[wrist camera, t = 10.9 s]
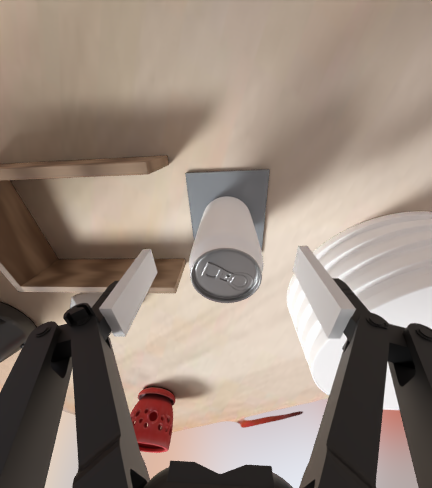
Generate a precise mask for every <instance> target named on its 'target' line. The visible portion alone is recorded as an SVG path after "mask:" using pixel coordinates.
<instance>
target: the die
mask: <svg viewBox="0 0 432 488" xmlns="http://www.w3.org/2000/svg"><path fill="white" fill-rule="evenodd" d="M102 294H103V293H100V292H81V293H79V294H77V295H75V296H73V297H72V299H71V305H70V308H71V307H73V306H75V305H77V304H80V303H88V304H89V305H90V307H91V308H92V306H93V305H94V304H95V303H96V301H97V300H98V299H99V297H100V296H101V295H102ZM111 333H112V331H111ZM111 333H110V334H111Z"/></svg>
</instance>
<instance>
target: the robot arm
mask: <svg viewBox="0 0 432 488" xmlns="http://www.w3.org/2000/svg"><path fill="white" fill-rule="evenodd" d="M293 272H294V274H295V276H296V278H297V280H298V282H299V284H300V286H301V288H302V290H303V292H304V293H305V295H306V297H307V299H308V301H309V303H310V305H311V307H312V309H313V311H314V313H315V315H316V317H317V319H318V321H319V323H320V324H321V326H322V328H323V330H324V332H325V334H326V336H327V338H328V339H341V337H342V335H343V333H344V334H345V336H346V337H347V340H346V342H345V344H344V346H343V348H342V349H343V352H342V356H341V359H340V362H339V365H338V369H337V372H336V375H335V379H334V382H333V385H332V389H331V392H330V395H329V398H328V402H327V405H326V408H325V412H324V415H323V418H322V421H321V425H320V428H319V432H318V435H317V438H316V441H315V444H314V448H313V451H312V454H311V458H310V461H309V463H308V466H307V468H306V470H305V473H304V475H303V478H302V481H301V484H300V487H299V488H376V473H377V463H378V452H379V442H380V433H381V423H382V412H383V403H384V393H385V382H386V372H387V362H388V364H389V369H390V373H391V377H392V381H393V385H394V389H395V393H396V397H397V401H398V405H399V409H400V413H401V417H402V421H403V426H404V430H405V433H406V438H407V441H408V446H409V450H410V454H411V458H412V462H413V466H414V470H415V474H416V478H417V483H418V486H419V488H432V329H431V328H429V327H427V326H424V325H422V324H418V323H410V324H409V325H408V326H407V328H404V327H400V326H396V325H392V324H389V323H388V322H387V321H386V320H385V319H383V318H382V317H380V316H379V315H377V314H374V313H371V312H370V311H369V310H368V309H367V308H366V307H365V305H364V304H363V303H362V302H361V301H360V300H359V298H358V297H357V296H356V295H355V294H354V292H353V291H352V290H351V289H350V288H349V286H348V285H347V284H346V283H345V282H343V281H342V280H340V279H339V278H332V277H331V276H330V275H329V273H328V272H327V271H326V269H325V268H324V267H323V266H322V264H321V263H320V262H319V260H318V259H317V258H316V256H315V255H314V254H313V253H312V251H311V250H310V249H309V247H308V246H298V250H297V254H296V259H295V263H294V268H293ZM156 274H157V269H156V265H155V262H154V258H153V254H152V251H151V249H143V250H142V251H141V252H140V254H139V255H138V256H137V258H136V259H135V260H134V262H133V263H132V264H131V266H130V267H129V269H128V270H127V271H126V273H125V274H124V275H123V277H122V278H121V279H120V281H114V282H113V283H111V284H110V285H109V286H108V287H107V289H106V290H105V292H103V294H102V295H101V296H100V297H99V299H98V300H97V301H96V303H95V304H94V305H93V306H92V308H91V307H90V305H89V304H88V303H80V304H77V305H75V306H73V307H71V308H70V309H69V310H68V311H67V312H66V313H65V314H64V317H63V318H64V320H65V321H66V322H67V324H64V325H60V326H58V325H57V324H56V323H55V322H52V321H51V322H46V323H44V324H42V325H40V326H38V327H37V328H36V326H35V325H34V323H33V322H32V321H31V320H30V319H29V318H28V317H27V316H25V315H24V314H23V313H21V312H20V311H18V310H16V309H14V308H12V307H10V306H8V305H6V304H4V303H1V302H0V362H2V361H4V360H5V359H7V358H8V357H10V356H11V355H13V354H14V353H16V352H17V351H19V350H20V349H21V348H22V350H21V352H20V354H19V356H18V358H17V360H16V362H15V364H14V366H13V368H12V370H11V372H10V374H9V376H8V378H7V380H6V382H5V384H4V386H3V388H2V390H1V392H0V488H44V486H45V482H46V478H47V474H48V470H49V465H50V460H51V457H52V452H53V448H54V444H55V440H56V435H57V431H58V426H59V423H60V418H61V414H62V410H63V405H64V401H65V397H66V393H67V388H68V384H69V380H70V375H71V371H72V367H73V383H74V399H75V415H76V431H77V446H78V460H79V461H78V462H79V469H78V473H77V474H76V476H75V478H74V481H73V488H293V487H292V486H291V485H290V484H289V483H287V482H286V481H285V480H284V479H283V478H281V477H279V476H278V475H277V474H275V473H273V472H272V467H271V466H259V465H244V466H242V467H239V468H236V469H234V470H231V471H228V472H226V473H223V474H218V473H216V472H214V471H212V470H209V469H207V468H206V467H203V466H201V465H199V464H197V463H195V462H184V461H170V466H169V468H166V469H164V470H163V471H161V472H159V473H158V474H157V475H155V476H154V477H153V478H152V479H151V480H150V478H149V474H148V471H147V468H146V465H145V462H144V460H143V458H142V456H141V453H140V450H139V446H138V442H137V439H136V435H135V431H134V427H133V424H132V420H131V416H130V412H129V409H128V405H127V401H126V397H125V394H124V390H123V386H122V382H121V379H120V375H119V371H118V367H117V364H116V360H115V356H114V352H113V349H112V345H111V341H110V338H109V337H108V336H109V335H110V333H111V331H112V333H113V334H114V336H126V335H127V333H128V330H129V328H130V326H131V324H132V322H133V320H134V318H135V316H136V314H137V312H138V310H139V308H140V306H141V304H142V302H143V300H144V298H145V296H146V294H147V292H148V290H149V288H150V286H151V284H152V282H153V280H154V278H155V276H156Z"/></svg>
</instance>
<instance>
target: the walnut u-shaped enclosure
mask: <svg viewBox="0 0 432 488" xmlns="http://www.w3.org/2000/svg"><path fill="white" fill-rule="evenodd" d="M167 165H169V162H168V156H149V157H129V158H109V159H89V160H69V161H49V162H29V163H9V164H0V271H1V272H2V273H3V274H4V276H5V277H6V278H7V279H8V280H9V281H10V283H11V284H12V285H13V286H14V287H15V288H16V290H17V291H18V292H100V293H103V292H105V290H106V289H107V287H108V286H109V285H110V284H111V283H113V282H114V281H120V279H121V278H122V277H123V275H124V274H125V273H126V271H127V270H128V269H129V267H130V266H131V264H132V263H133V262H134V260H135V259H58V258H57V256H56V255H55V253H54V251H53V250H52V248H51V246H50V245H49V243H48V242H47V240H46V238H45V237H44V235H43V234H42V232H41V230H40V229H39V227H38V225H37V224H36V222H35V221H34V219H33V217H32V216H31V214H30V213H29V211H28V209H27V208H26V206H25V204H24V203H23V201H22V200H21V198H20V196H19V195H18V193H17V192H16V190H15V188H14V187H13V185H12V183H11V182H10V180H25V179H48V178H72V177H95V176H119V175H143V174H150V173H152V172H154V171H156V170H159V169H161V168H163V167H165V166H167ZM154 262H155V265H156V269H157V274H156V276H155V278H154V280H153V282H152V284H151V286H150V288H149V290H148V292H147V293H176V291H177V288H178V285H179V282H180V279H181V276H182V273H183V270H184V267H185V264H186V262H185V259H154Z"/></svg>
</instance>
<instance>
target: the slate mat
mask: <svg viewBox="0 0 432 488" xmlns="http://www.w3.org/2000/svg"><path fill="white" fill-rule="evenodd" d="M269 171H270V170H269V169H264V170H240V171H216V172H193V173H185V174H186V182H187V190H188V197H189V205H190V213H191V221H192V228H193V236H194V241H195V237H196V234H197V231H198V228H199V225H200V222H201V219H202V216H203V213H204V211H205V209H206V207H207V206H208V204H209V203H210V202H212V201H213V200H215V199H217V198H219V197H224V196H230V197H234V198H237V199H239V200H241V201H242V202H243V203H244V204H245V205H246V206H247V207H248V209H249V211H250V214H251V217H252V221H253V224H254V227H255V231H256V234H257V238H258V241H259V245H260V248H261V252H262V241H263V231H264V221H265V211H266V201H267V191H268V181H269Z"/></svg>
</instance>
